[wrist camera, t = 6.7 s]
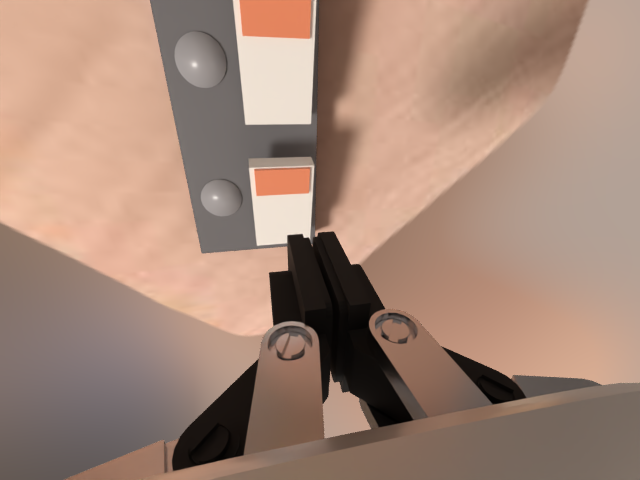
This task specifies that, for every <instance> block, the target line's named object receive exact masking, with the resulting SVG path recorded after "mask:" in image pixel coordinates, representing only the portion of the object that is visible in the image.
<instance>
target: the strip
mask: <svg viewBox="0 0 640 480" xmlns="http://www.w3.org/2000/svg"><path fill="white" fill-rule="evenodd" d="M150 3H151V8H152V13H153V17H154V22H155V27H156V32H157V37H158V42H159V47H160V52H161V56H162V61H163V66H164V71H165V76H166V81H167V86H168V91H169V96H170V100H171V105H172V110H173V115H174V120H175V125H176V130H177V135H178V139H179V144H180V149H181V154H182V159H183V164H184V169H185V174H186V179H187V183H188V188H189V193H190V198H191V203H192V208H193V213H194V218H195V222H196V227H197V232H198V237H199V242H200V247H201V252H202V253H213V252H225V251H237V250H249V249H261V248H273V247H285V246H287V243H285V244H272V245H260V246H257V242H256V232H255V222H254V213H253V203H252V193H251V183H250V174H249V158H284V157H311V158H312V161H313V163H314V180H313V197H312V215H311V232H310V242H311V244H312V241H313V237H315V204H316V147H317V90H318V33H319V0H316V21H315V44H314V66H313V89H312V111H311V124H267V125H245V116H244V106H243V96H242V86H241V76H240V66H239V56H238V46H237V36H236V26H235V16H234V6H233V0H150Z"/></svg>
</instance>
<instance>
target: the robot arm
mask: <svg viewBox="0 0 640 480" xmlns="http://www.w3.org/2000/svg"><path fill="white" fill-rule="evenodd" d="M287 248H288V271H281V272H270V273H269V277H270V290H271V303H272V315H273V327H272V328H271V329H269V330H268V331H267V332H266V334H265V335H264V337H263V340H262V342H261V348H260V354H259V359H258V360H257V361H256V362H255V363H254V364H253V365H252V366H251V367H250V368H249V369H247V370H246V371H245V372H244V373H243V374H242V375H241V376H240V377H239V378H238V379H237V380H236V381H235V382H234V383H233V384H232V385H231V386H230V387H229V388H228V389H227V390H226V391H225V392H224V393H223V394H222V395H221V396H220V397H219V398H218V399H216V400H215V401H214V402H213V403H212V404H211V405H210V406H209V407H208V408H207V409H206V410H205V411H204V412H203V413H202V414H201V415H200V416H199V417H198V418H197V419H196V420H195V421H194V422H193V423H192V424H191V425H190V426H189V427H188V428H187V429H186V430H185V431H184V433H183V434H182V435H181V436H180V438H178V439H176V440H174V441H171V442H169V443H166V444H165V441H164V440H161V441H159V442H156V443H154V444H151V445H149V446H146V447H144V448H141V449H139V450H136V451H134V452H132V453H129V454H126V455H124V456H121V457H119V458H116V459H114V460H111V461H109V462H107V463H104V464H102V465H99V466H97V467H94V468H92V469H89V470H87V471H84V472H82V473H79V474H77V475H74V476H72V477H69V478H67V479H64V480H640V383H618V384H609V385H600V384H598V383H596V382H594V381H590V380H585V379H578V378H559V377H540V376H521V375H519V376H518V375H513V377H512V378H511V379H510V378H508V377H507V376H506V375H504V374H502V373H500V372H498V371H496V370H494V369H492V368H489V367H487V366H485V365H483V364H480V363H478V362H476V361H474V360H471V359H469V358H467V357H464V356H462V355H460V354H458V353H455V352H453V351H451V350H449V349H446V348H444V347H442V346H440V345H439V343H438V342H437V341H436V340H435V339H434V338H433V337H432V336H431V334H430V333H429V332H428V331H427V330H426V329H425V328H424V327H423V326H422V324H421V323H420V322H419V321H418V320H417V319H416V318H414V317H413V316H412V315H410V314H408V313H406V312H404V311H400V310H395V309H385V308H384V306H383V304H382V302H381V300H380V299H379V297H378V295H377V293H376V292H375V290H374V288H373V286H372V285H371V283H370V281H369V279H368V277H367V276H366V274H365V272H364V270H363V269H362V267H361V266H360V265H359V264H353V265H351V264H350V262H349V260H348V258H347V256H346V254H345V252H344V250H343V248H342V246H341V244H340V242H339V241H338V239H337V237H336V235H335V233H334V232H321V233H318V237H313V241H312V245H311V242H310V239H309V237H307V238H304V236H303V234H294V235H287ZM330 371H331V374H332V378H333V381H334V382H340V385H341V389H342V392H348V391H350V393H352V394H353V395H355V396H357V397H358V398H359V402H360V406H361V409H362V411H363V413H364V415H365V417H366V419H367V421H368V423H369V425H370V427H371V429H370V430H365V431H361V432H355V433H350V434H345V435H340V436H336V437H331V438H326V439H325V438H324V421H323V403H324V402H325V400H326V399H327V397H328V393H329V382H330Z"/></svg>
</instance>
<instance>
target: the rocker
mask: <svg viewBox="0 0 640 480" xmlns="http://www.w3.org/2000/svg"><path fill="white" fill-rule="evenodd" d="M249 174H250V183H251V193H252V203H253V213H254V222H255V232H256V242H257V246H260V245H272V244H285V243H287V235H294V234H303V236H304V238H307V237H309V239H310V232H311V215H312V197H313V180H314V163H313V161H312V158H311V157H284V158H249Z"/></svg>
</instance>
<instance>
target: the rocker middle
mask: <svg viewBox="0 0 640 480" xmlns="http://www.w3.org/2000/svg"><path fill="white" fill-rule="evenodd" d="M233 6H234V16H235V26H236V36H237V46H238V56H239V66H240V76H241V86H242V96H243V106H244V116H245V125H267V124H311V111H312V89H313V66H314V44H315V21H316V0H233Z"/></svg>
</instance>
